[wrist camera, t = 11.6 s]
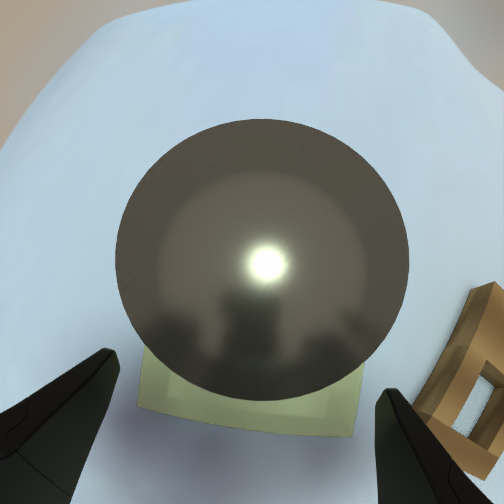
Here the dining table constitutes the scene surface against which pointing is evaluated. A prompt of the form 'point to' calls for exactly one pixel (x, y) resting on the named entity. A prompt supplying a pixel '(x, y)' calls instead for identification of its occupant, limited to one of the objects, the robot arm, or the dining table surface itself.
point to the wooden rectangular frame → (470, 383)
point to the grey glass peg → (262, 260)
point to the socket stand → (252, 404)
